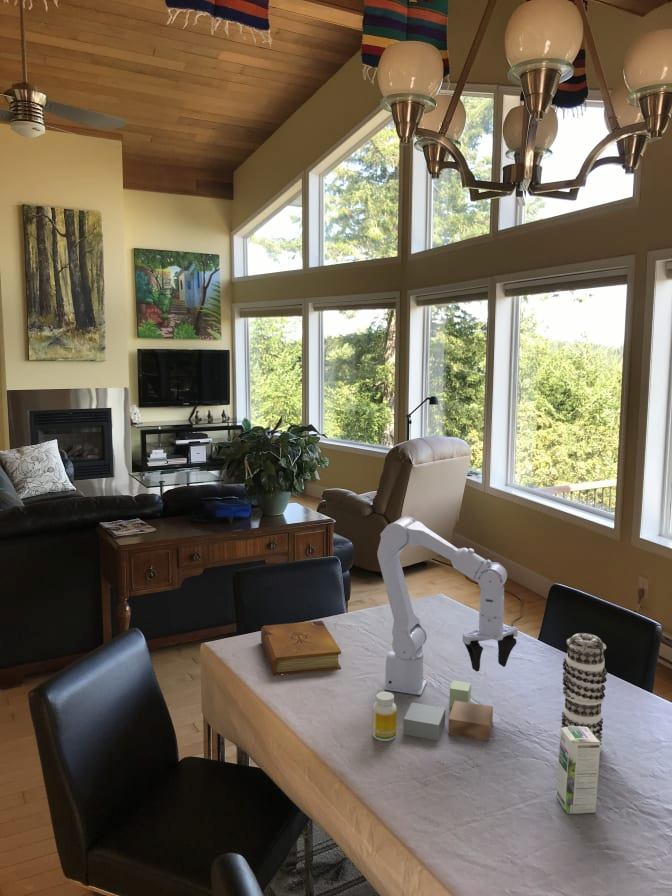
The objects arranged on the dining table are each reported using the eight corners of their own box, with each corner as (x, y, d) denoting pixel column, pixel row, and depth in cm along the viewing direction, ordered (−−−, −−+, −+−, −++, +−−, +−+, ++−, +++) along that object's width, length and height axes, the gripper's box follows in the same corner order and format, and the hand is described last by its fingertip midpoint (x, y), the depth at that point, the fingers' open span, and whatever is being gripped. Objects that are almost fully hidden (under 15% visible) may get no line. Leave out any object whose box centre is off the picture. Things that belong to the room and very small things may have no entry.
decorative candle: (550, 743, 156) (555, 635, 153) (574, 730, 161) (580, 626, 158) (586, 762, 149) (592, 649, 145) (611, 748, 154) (617, 639, 151)
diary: (261, 644, 210) (260, 626, 210) (321, 638, 215) (321, 620, 214) (273, 677, 188) (273, 657, 188) (341, 670, 193) (341, 650, 192)
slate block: (403, 735, 160) (403, 718, 159) (411, 718, 167) (411, 702, 167) (438, 741, 157) (438, 725, 156) (445, 724, 164) (445, 708, 164)
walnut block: (448, 735, 160) (448, 718, 159) (454, 716, 168) (454, 700, 168) (488, 742, 157) (489, 725, 156) (492, 722, 166) (493, 706, 165)
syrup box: (555, 796, 137) (558, 726, 135) (584, 794, 138) (588, 725, 136) (567, 815, 132) (570, 742, 130) (597, 813, 132) (601, 741, 130)
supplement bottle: (368, 732, 160) (368, 692, 159) (388, 727, 162) (389, 688, 161) (379, 744, 155) (380, 703, 154) (400, 738, 158) (401, 698, 156)
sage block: (449, 707, 172) (449, 688, 171) (452, 699, 176) (452, 680, 175) (467, 710, 170) (468, 691, 170) (470, 702, 175) (470, 682, 174)
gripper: (474, 623, 164) (472, 679, 166) (526, 616, 169) (523, 669, 171) (458, 613, 171) (456, 666, 172) (508, 606, 176) (506, 657, 178)
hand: (488, 667), depth 172 cm, fingers open, 7 cm apart
